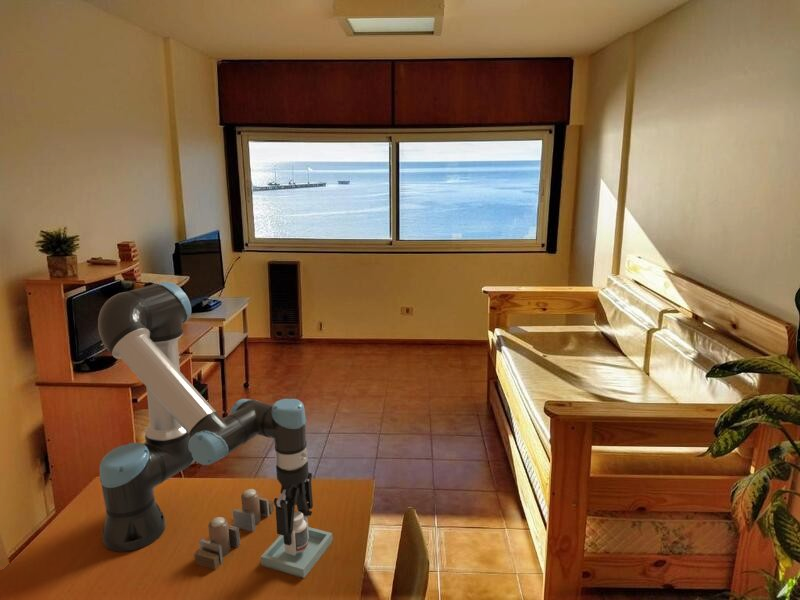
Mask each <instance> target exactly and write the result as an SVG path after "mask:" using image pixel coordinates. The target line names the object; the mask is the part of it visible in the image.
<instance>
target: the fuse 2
mask: <svg viewBox="0 0 800 600" xmlns="http://www.w3.org/2000/svg"><path fill="white" fill-rule="evenodd" d="M259 497H260V493H259V491H257V490H256V489H255V488H249V489H246V490H244V492H242V494H241V495H240V500H241V510H244V511H248V512H252V513H254V518H255V526H257V525H258V524H260V523H261V520H262V517H261V516H262V515H260V503H259Z"/></svg>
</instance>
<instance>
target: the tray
mask: <svg viewBox="0 0 800 600" xmlns="http://www.w3.org/2000/svg"><path fill="white" fill-rule="evenodd" d="M308 531H309V539H308V547H307V548H306V549H305V550H304V551H302V552H299V553H296V555H295V556H294V555H291V554H288V553H285V544H284V536H283V535H279V536H278V537H277V538H276V539H275V541H273V542H272V543H271V544H270V546H269V547H268V548H267V549H266V550H265V551H264V553H263V554H261V555H260V563H261V566H263V567H266V568H269V569H272V570H276V571H279V572H282V573H286V574H288V575H292V576H295V577H298V578H302V579H305V578H306V577H307V575H308V574H309V573H310V571H311V570H312V569H313V568H314V567H315V565H316V564H317V563H318V561H319V560H320V559H321V557H322V556H323V554H324V553H326V551H327V550H328V548H329V547H330V546H331V544H332V543H333V541H334V540H333V532H329V531H327V530H326V531H325V530H321V529H318V528H313V527H310V526H308Z"/></svg>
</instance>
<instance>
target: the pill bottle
mask: <svg viewBox="0 0 800 600" xmlns="http://www.w3.org/2000/svg"><path fill="white" fill-rule="evenodd" d="M293 530H294V531H295V540H296V553H299V552H302V551H304V550H305V549H306V548H307V547H308V535H307V523H306V521H305V520H304V518H303V513H302V512H300V511H298V510H294V521H293Z"/></svg>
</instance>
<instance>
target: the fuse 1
mask: <svg viewBox="0 0 800 600" xmlns="http://www.w3.org/2000/svg"><path fill="white" fill-rule="evenodd" d="M228 522H229V521H228V520H227V518H225V517H222V516H217V517H214V518H213V519H212V520H211V521H210V522H209V523H208V533H209V541H211V542H214V543H217V544H221V548H222V557H223V558H224V557H226V556H227V555H229V554H230V552H231V545H230V539H229V529H228V525H229V523H228Z"/></svg>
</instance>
